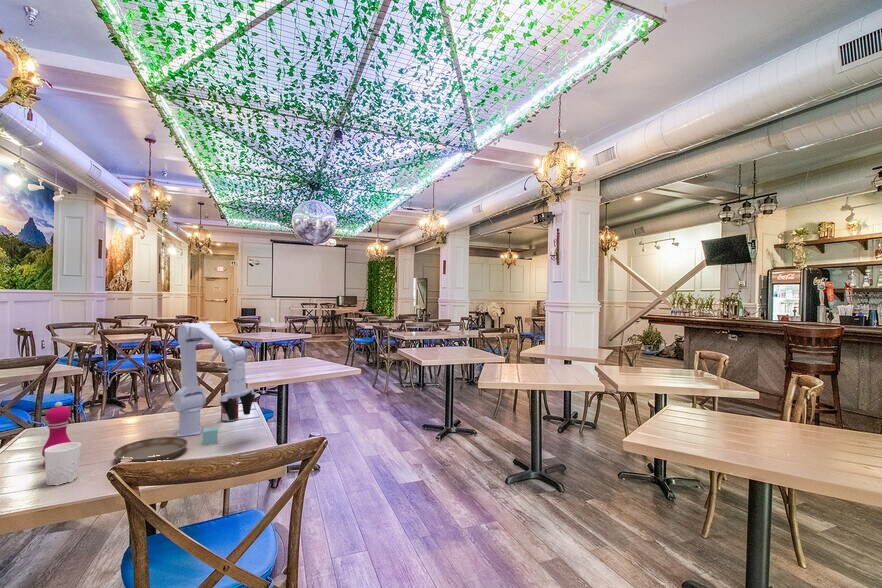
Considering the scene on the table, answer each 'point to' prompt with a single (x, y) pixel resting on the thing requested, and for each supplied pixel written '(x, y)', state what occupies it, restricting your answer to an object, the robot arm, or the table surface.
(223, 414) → the soda can
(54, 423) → the pepper mill
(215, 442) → the block
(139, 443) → the plant saucer
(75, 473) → the white cup
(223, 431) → the table surface
